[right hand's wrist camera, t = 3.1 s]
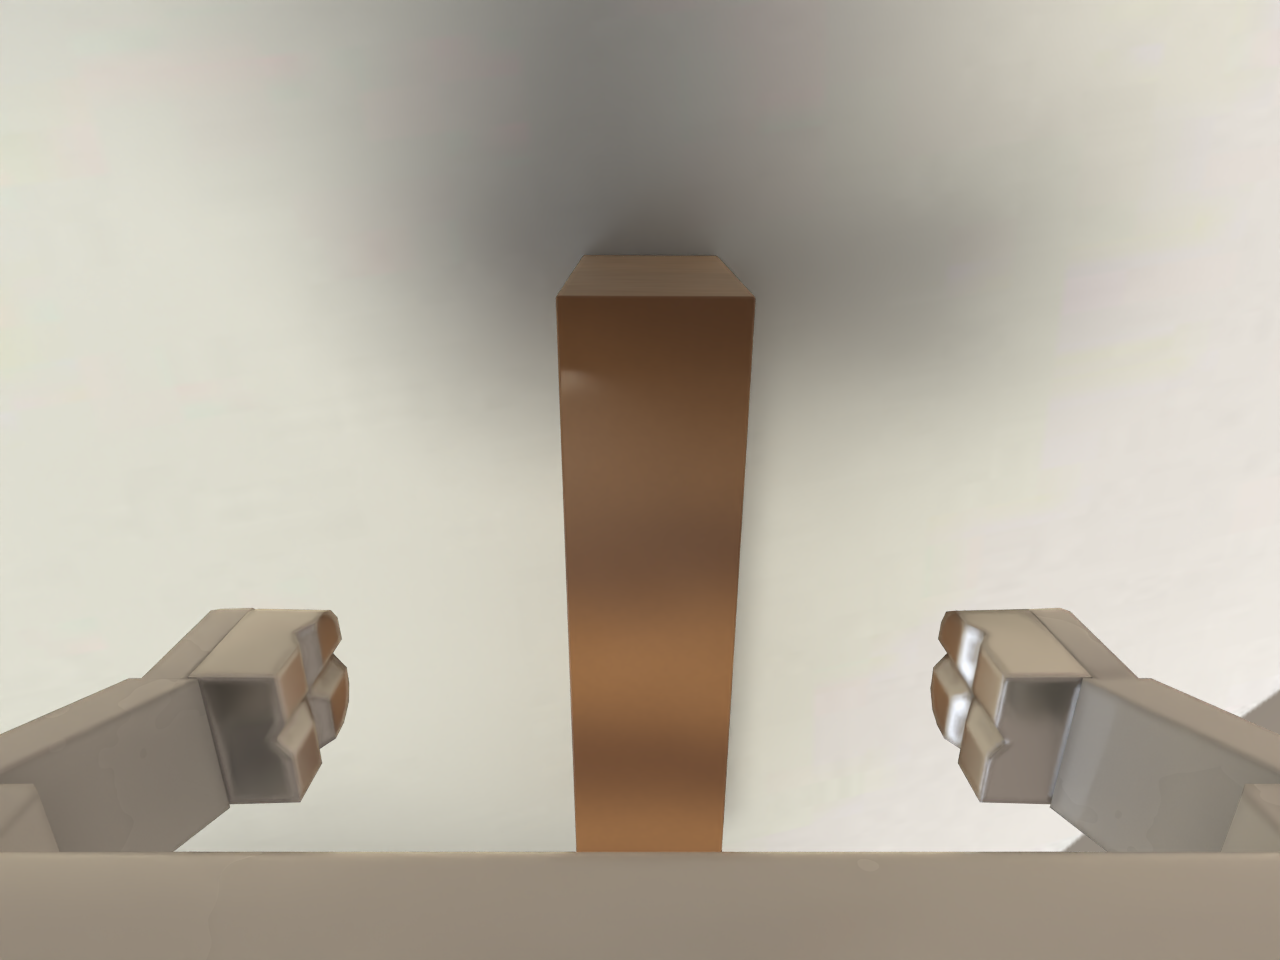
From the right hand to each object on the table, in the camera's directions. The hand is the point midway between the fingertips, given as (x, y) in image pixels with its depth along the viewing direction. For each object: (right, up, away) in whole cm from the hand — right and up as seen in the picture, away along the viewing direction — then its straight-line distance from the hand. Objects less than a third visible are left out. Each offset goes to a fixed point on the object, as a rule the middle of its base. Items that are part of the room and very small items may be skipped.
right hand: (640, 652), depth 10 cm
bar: (0, -2, +19) cm, 19 cm away
